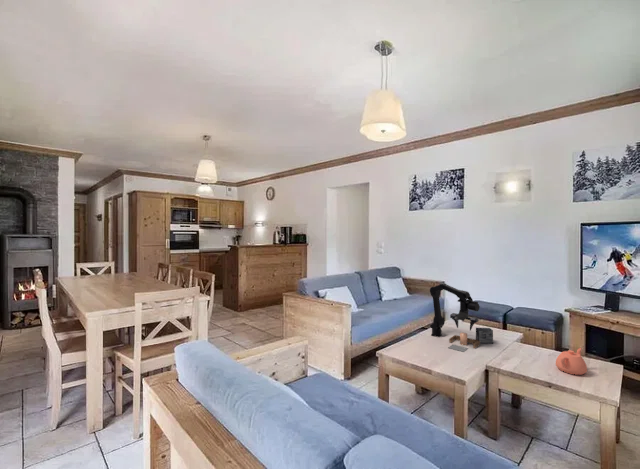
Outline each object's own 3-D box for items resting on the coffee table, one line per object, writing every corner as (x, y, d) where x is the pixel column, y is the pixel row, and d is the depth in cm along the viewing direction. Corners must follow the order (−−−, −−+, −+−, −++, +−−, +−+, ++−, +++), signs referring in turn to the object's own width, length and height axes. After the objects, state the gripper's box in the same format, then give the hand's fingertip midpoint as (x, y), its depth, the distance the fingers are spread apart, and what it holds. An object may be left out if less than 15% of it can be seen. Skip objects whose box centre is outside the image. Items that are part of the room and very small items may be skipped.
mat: (448, 348, 232) (448, 347, 232) (452, 344, 239) (452, 344, 239) (463, 352, 225) (463, 351, 225) (468, 348, 231) (468, 348, 231)
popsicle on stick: (459, 344, 240) (459, 333, 240) (462, 341, 245) (462, 331, 245) (466, 345, 236) (466, 335, 236) (469, 343, 242) (469, 332, 242)
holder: (449, 342, 243) (449, 338, 243) (454, 338, 252) (454, 335, 251) (474, 348, 231) (474, 344, 231) (479, 344, 239) (479, 340, 239)
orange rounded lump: (566, 362, 207) (567, 343, 207) (595, 371, 194) (595, 351, 194) (548, 369, 197) (548, 349, 197) (576, 379, 184) (577, 358, 184)
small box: (489, 341, 247) (489, 327, 247) (493, 344, 240) (493, 330, 240) (475, 340, 248) (475, 327, 248) (478, 343, 241) (478, 329, 241)
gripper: (447, 308, 240) (447, 328, 240) (473, 312, 227) (473, 334, 228) (453, 305, 248) (452, 325, 249) (478, 309, 235) (478, 330, 236)
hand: (463, 329), depth 240 cm, fingers open, 9 cm apart
